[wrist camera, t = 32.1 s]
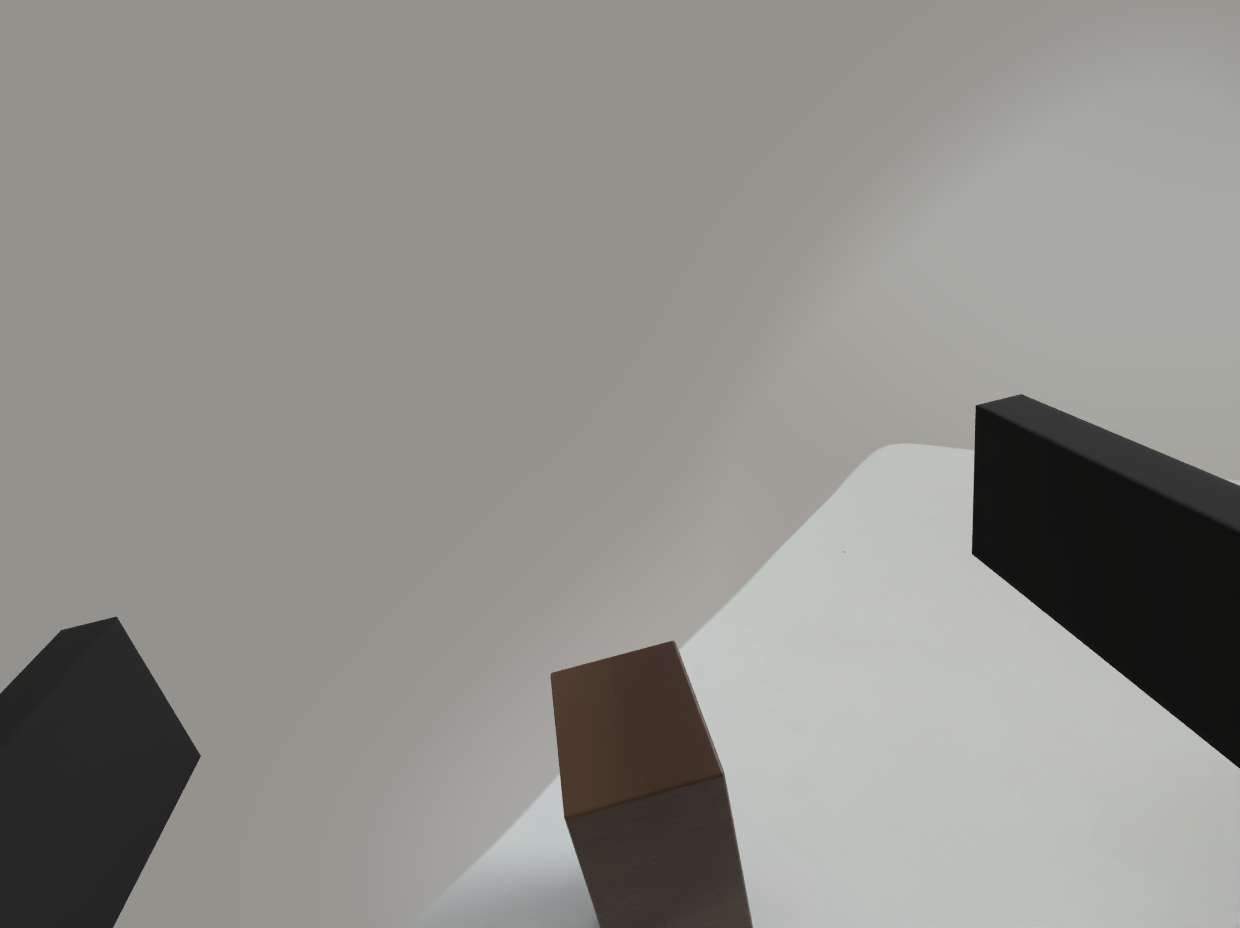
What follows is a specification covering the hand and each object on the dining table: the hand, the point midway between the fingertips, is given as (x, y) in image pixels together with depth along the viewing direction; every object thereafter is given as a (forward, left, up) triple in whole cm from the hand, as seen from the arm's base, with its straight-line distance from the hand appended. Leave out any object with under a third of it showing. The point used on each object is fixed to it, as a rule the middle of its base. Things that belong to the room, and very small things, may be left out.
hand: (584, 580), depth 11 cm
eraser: (-2, +7, -22) cm, 23 cm away
